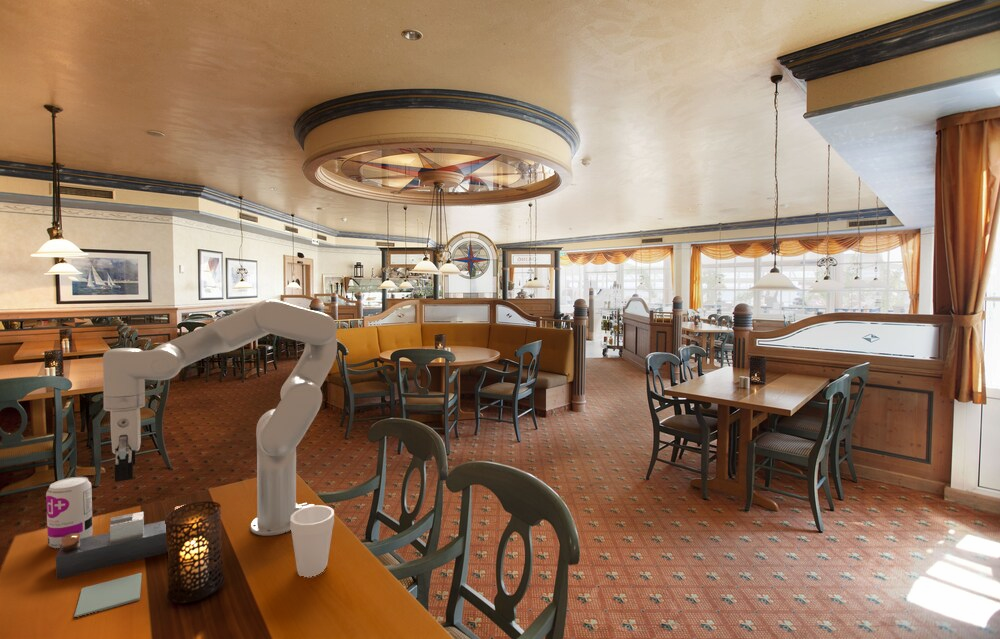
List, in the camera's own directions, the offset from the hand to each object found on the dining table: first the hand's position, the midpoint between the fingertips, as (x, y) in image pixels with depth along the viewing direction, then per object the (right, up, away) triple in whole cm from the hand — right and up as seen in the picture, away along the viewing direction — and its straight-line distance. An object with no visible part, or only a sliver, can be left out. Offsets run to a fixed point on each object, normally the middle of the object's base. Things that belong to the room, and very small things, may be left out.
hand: (125, 472), depth 110 cm
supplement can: (-19, -19, +7) cm, 28 cm away
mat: (+7, -21, -13) cm, 26 cm away
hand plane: (-1, -20, +1) cm, 20 cm away
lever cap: (0, -15, +1) cm, 15 cm away
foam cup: (+45, -22, -2) cm, 50 cm away
